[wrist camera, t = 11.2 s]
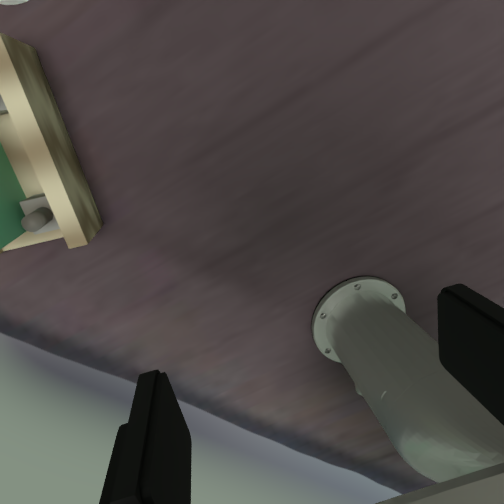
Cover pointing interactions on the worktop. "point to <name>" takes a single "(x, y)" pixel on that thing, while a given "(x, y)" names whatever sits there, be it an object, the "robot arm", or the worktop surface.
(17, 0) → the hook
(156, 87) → the worktop surface
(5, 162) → the door
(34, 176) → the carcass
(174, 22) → the worktop surface
